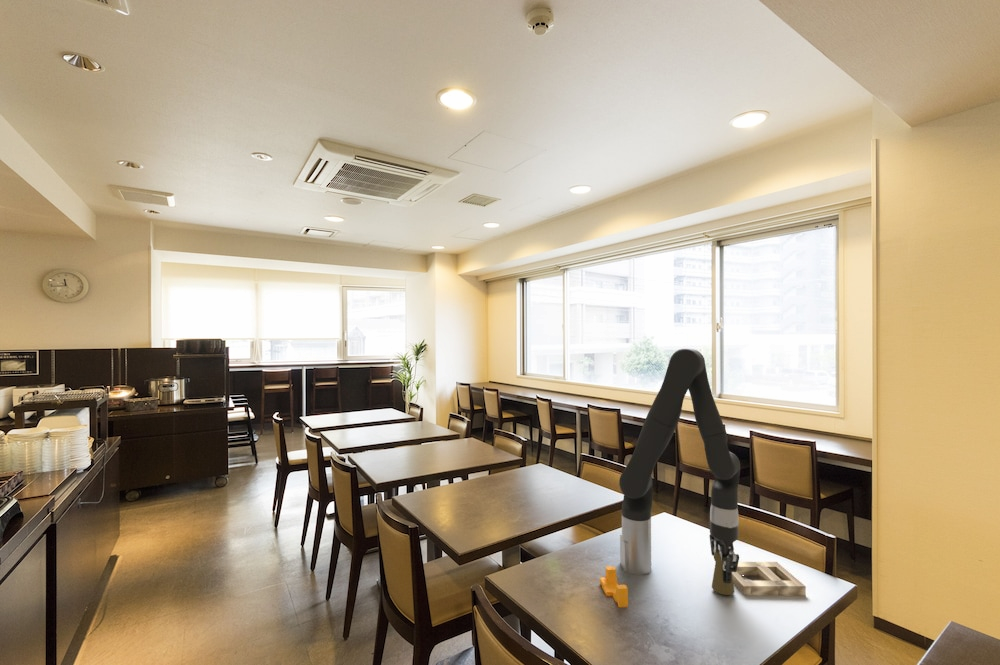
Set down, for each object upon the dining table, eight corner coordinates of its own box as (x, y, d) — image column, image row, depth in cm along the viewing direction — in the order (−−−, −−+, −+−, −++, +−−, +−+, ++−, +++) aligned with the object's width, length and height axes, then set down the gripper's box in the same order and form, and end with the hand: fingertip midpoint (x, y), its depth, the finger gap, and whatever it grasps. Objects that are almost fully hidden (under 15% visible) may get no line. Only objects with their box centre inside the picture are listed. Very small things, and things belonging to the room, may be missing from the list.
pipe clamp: (600, 588, 137) (599, 566, 137) (614, 587, 138) (613, 566, 138) (612, 612, 125) (612, 589, 125) (627, 611, 126) (627, 588, 126)
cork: (716, 580, 137) (716, 545, 137) (737, 589, 133) (738, 552, 133) (708, 588, 133) (708, 551, 133) (730, 597, 129) (730, 559, 129)
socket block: (743, 596, 132) (743, 586, 132) (720, 571, 146) (720, 561, 146) (805, 596, 132) (805, 586, 132) (776, 571, 146) (776, 561, 146)
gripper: (700, 510, 140) (700, 565, 140) (722, 531, 126) (721, 592, 126) (725, 511, 140) (724, 565, 140) (749, 531, 126) (748, 592, 126)
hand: (723, 577), depth 133 cm, fingers closed on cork, 4 cm apart
